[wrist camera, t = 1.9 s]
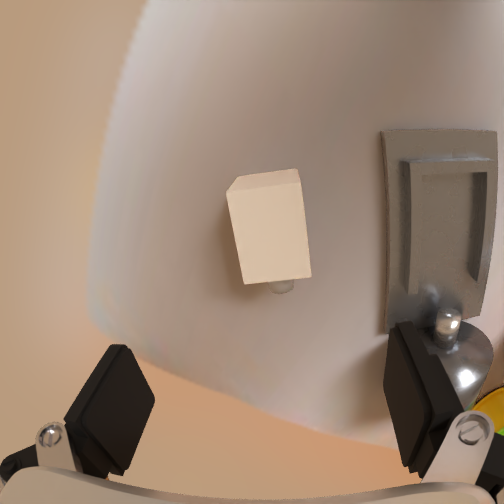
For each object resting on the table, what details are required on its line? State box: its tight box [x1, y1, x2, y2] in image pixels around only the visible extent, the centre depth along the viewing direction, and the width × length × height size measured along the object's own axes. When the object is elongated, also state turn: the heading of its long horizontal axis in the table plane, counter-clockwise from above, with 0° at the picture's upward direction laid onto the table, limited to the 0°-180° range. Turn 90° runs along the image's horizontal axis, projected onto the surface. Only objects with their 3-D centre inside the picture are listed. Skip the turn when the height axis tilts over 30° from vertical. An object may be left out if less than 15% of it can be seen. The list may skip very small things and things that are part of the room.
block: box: [226, 168, 311, 294], centre depth 25 cm, size 9×5×6 cm, turn 9°
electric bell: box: [381, 129, 498, 412], centre depth 24 cm, size 30×12×10 cm, turn 10°
